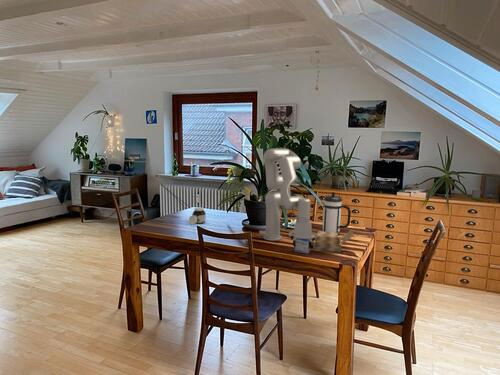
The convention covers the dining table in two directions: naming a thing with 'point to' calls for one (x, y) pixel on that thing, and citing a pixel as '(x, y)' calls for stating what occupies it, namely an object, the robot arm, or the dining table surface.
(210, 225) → the dining table surface
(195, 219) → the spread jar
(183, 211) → the dining table surface
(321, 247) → the carton
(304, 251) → the medicine box
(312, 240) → the robot arm
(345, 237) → the flap
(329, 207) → the coffee press
